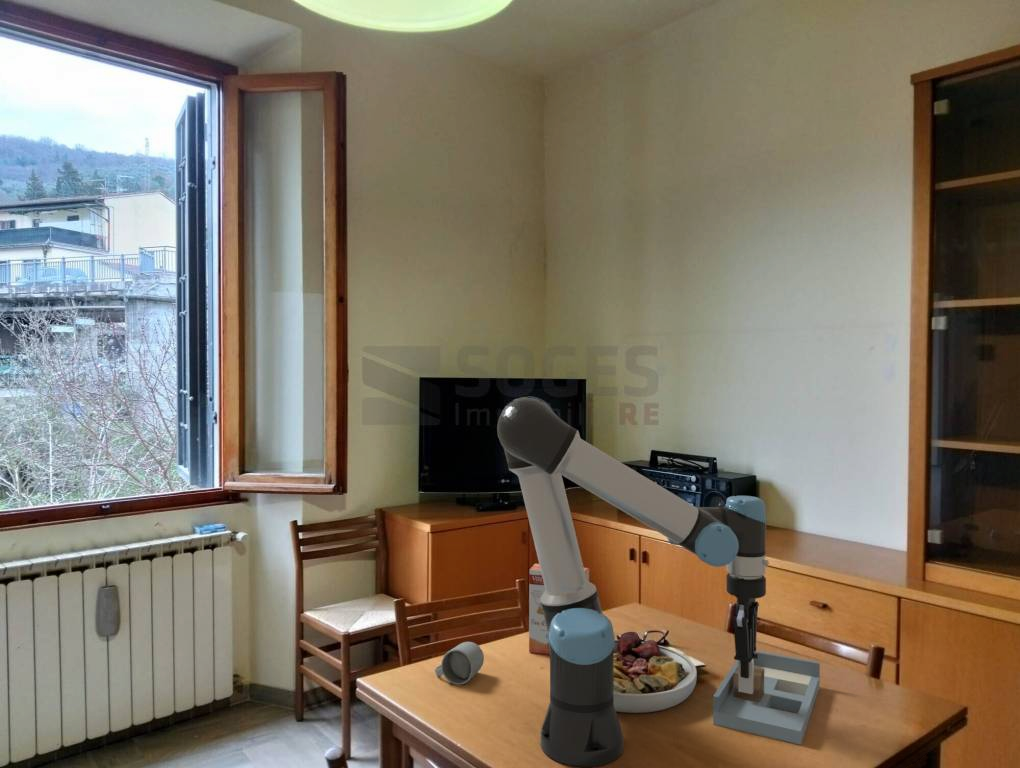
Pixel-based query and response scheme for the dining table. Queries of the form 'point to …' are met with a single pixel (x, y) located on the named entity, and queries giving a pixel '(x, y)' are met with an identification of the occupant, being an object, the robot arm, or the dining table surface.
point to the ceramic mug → (461, 663)
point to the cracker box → (538, 612)
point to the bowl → (649, 675)
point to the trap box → (771, 699)
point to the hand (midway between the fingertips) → (746, 691)
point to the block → (757, 686)
